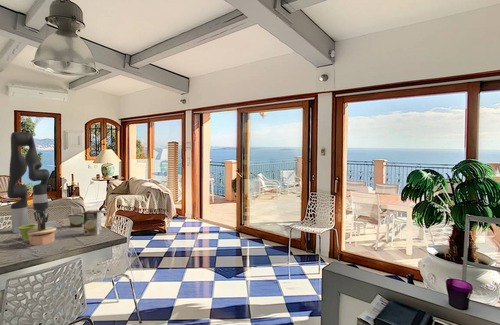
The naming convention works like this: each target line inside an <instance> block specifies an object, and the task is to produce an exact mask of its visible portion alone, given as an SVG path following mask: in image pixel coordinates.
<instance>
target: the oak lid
mask: <svg viewBox="0 0 500 325" xmlns="http://www.w3.org/2000/svg"><path fill="white" fill-rule="evenodd" d="M56 231H57V227H55V226H47V225H46V224H45V229H43V230H42V229H41V222H40V221H38V223H37V227H36V228H35V229H32V230H29V231H27V235H43V234H48V233H52V232H54V233H55V232H56Z"/></svg>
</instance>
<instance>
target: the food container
mask: <svg viewBox="0 0 500 325" xmlns="http://www.w3.org/2000/svg"><path fill="white" fill-rule="evenodd" d="M67 216H68V220H69V227H70V228H71V227H72V228H84V212H74V213H69V214H68V215H67Z"/></svg>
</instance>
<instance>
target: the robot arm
mask: <svg viewBox="0 0 500 325" xmlns="http://www.w3.org/2000/svg"><path fill="white" fill-rule="evenodd" d="M33 136H34V135H33V134H32V133H31V132H29V131H14V132H12V133H11V134H10V160H9V177H8V185H7V191H6V192H7V194H6V195H7V198H9V199H10V200H11V199H13V200H14V199H19V200H18V201H16V202H14V203H13V202H12V204H11V205H10V214H11V233H13V234H21V231H20V229H19V227H21V226H24V225H29V214H28V213H29V211H28V210H29V209H28V187H27V185H25V184H17V183H18V181H19V180H20V179H21V178H22V177H23V176H25V174H26V172H27V169H28V179H29V180H30V181H32V182H39V183H37V184H34V185H33V186H32V209H33V210H34V211H35V212H33V217H34V220H35V222H36V223H37V224H38V221H40V222H41V229H42V230H43V229H45V225H46V223H48V220H49V213H47V211H46V210H47V209H48V208H49V201H48V199H49V198H48V190H47V188H48V187H47V186H48V183H49V180H50V176H51V175H50V171H49V170H48V169H46V168H42V166H43V165H42V164H43V163H42V162H41V159H40V157H39V155H38V151H37V147H36V144H35V140H34V137H33ZM19 147H28V150H27V152H26V154H25V157H24V156H23V154H22V153H21V152H20V151H19ZM41 168H42V169H41ZM16 184H17V185H16Z"/></svg>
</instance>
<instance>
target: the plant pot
mask: <svg viewBox="0 0 500 325" xmlns="http://www.w3.org/2000/svg"><path fill="white" fill-rule="evenodd" d="M37 227H38V224H28V225H24V226H21V227H19V229H20V231H21V233H20V236H21V240H22V241H27V240H29V235H27V231H29V230H32V229H36V228H37Z"/></svg>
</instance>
